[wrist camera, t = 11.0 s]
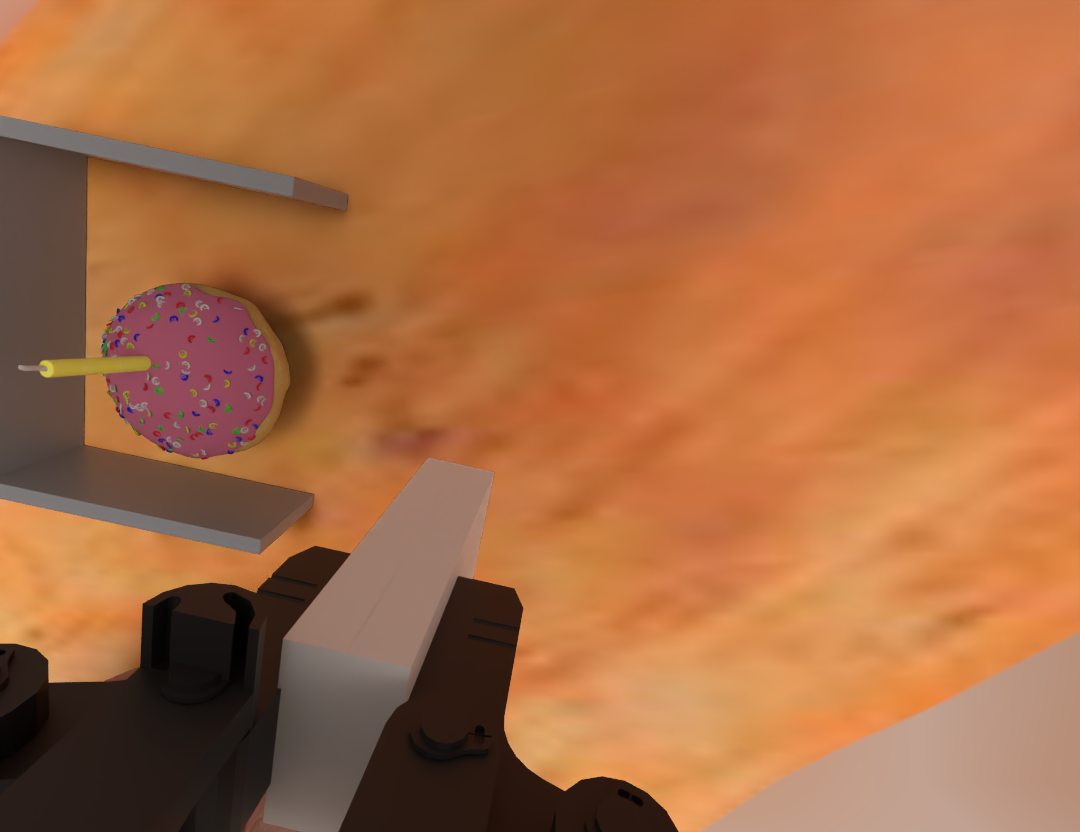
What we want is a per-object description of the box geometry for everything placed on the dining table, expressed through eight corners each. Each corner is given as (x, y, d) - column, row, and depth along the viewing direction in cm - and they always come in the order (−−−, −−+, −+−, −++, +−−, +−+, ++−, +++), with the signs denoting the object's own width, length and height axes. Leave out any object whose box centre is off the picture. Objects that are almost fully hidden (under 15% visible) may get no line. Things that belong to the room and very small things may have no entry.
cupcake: (144, 363, 33) (-87, 414, 22) (226, 245, 32) (22, 231, 20) (267, 462, 34) (109, 560, 23) (354, 352, 32) (229, 398, 21)
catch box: (72, 136, 31) (-47, 105, 25) (348, 194, 30) (294, 177, 25) (70, 454, 35) (-31, 492, 29) (312, 506, 35) (259, 554, 29)
